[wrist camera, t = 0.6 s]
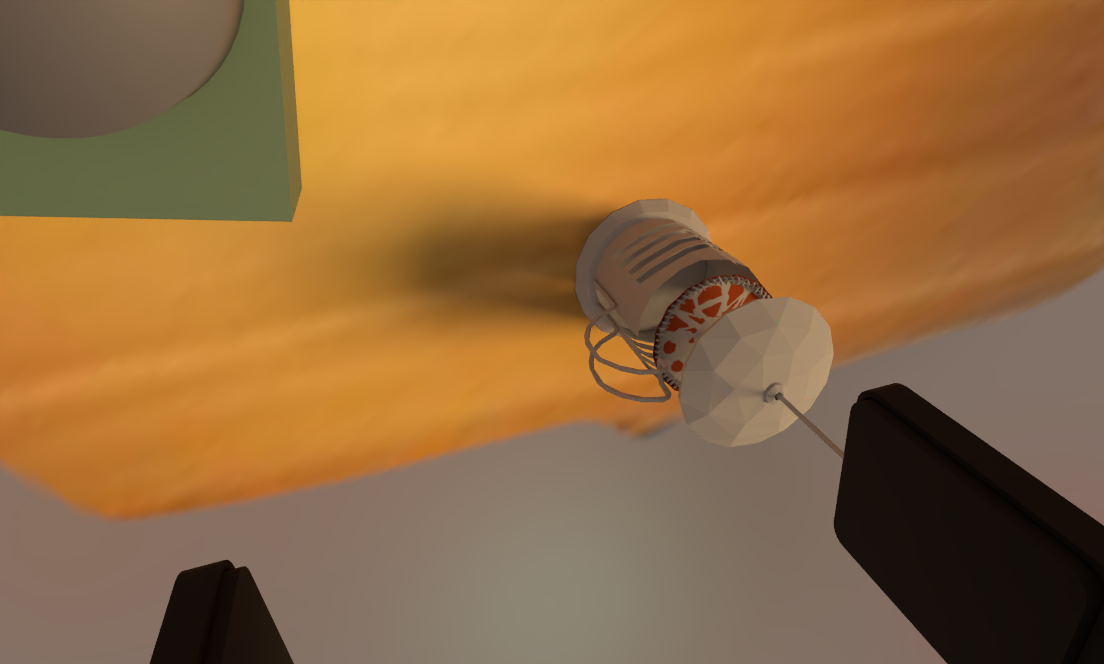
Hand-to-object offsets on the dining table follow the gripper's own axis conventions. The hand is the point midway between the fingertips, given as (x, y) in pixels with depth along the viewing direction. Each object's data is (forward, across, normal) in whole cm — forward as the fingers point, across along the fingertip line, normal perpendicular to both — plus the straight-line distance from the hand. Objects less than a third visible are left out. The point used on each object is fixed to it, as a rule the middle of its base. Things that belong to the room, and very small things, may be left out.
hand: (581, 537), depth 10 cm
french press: (+30, -12, +10) cm, 33 cm away
